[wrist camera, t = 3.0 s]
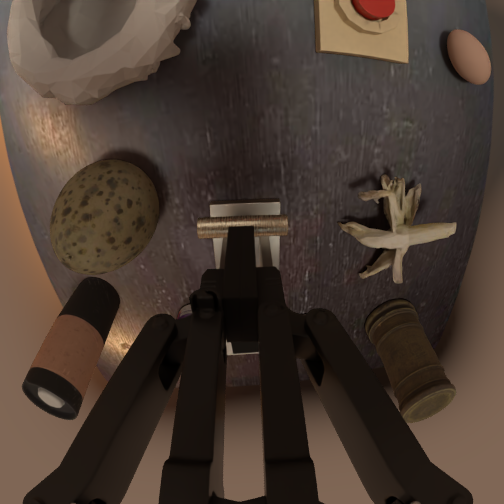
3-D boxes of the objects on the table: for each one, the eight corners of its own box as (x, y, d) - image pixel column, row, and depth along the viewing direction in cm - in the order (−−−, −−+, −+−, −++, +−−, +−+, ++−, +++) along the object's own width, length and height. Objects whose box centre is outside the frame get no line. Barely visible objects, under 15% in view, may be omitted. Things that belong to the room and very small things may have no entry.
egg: (464, 81, 27) (437, 33, 25) (496, 72, 23) (470, 21, 20) (464, 95, 25) (435, 40, 22) (501, 85, 21) (473, 27, 18)
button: (350, -17, 19) (356, -22, 18) (387, -10, 19) (394, -13, 18) (352, 16, 21) (358, 13, 20) (389, 23, 21) (396, 21, 20)
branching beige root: (329, 162, 36) (449, 153, 28) (354, 247, 46) (448, 245, 38) (317, 209, 31) (462, 202, 23) (346, 294, 41) (451, 295, 33)
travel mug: (124, 317, 45) (86, 426, 28) (83, 310, 44) (36, 410, 27) (117, 278, 41) (64, 393, 24) (73, 272, 40) (10, 375, 23)
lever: (198, 207, 21) (195, 237, 20) (285, 204, 21) (289, 233, 20) (217, 283, 31) (217, 305, 30) (276, 281, 31) (278, 303, 30)
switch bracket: (210, 200, 35) (196, 254, 25) (279, 198, 35) (293, 250, 25) (217, 271, 41) (209, 337, 30) (278, 269, 41) (288, 334, 30)
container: (354, 323, 46) (387, 419, 31) (397, 288, 43) (447, 380, 28) (382, 344, 50) (414, 428, 34) (421, 313, 46) (465, 395, 31)
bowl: (34, 98, 27) (-19, 112, 18) (67, -46, 16) (23, -66, 8) (189, 106, 29) (167, 116, 21) (231, -55, 19) (227, -98, 11)
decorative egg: (93, 141, 31) (15, 185, 18) (177, 156, 32) (134, 209, 20) (88, 221, 36) (29, 291, 23) (164, 238, 38) (128, 321, 25)
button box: (311, -40, 20) (318, -53, 17) (394, -24, 20) (410, -32, 17) (315, 52, 27) (324, 48, 23) (399, 63, 27) (416, 63, 23)
